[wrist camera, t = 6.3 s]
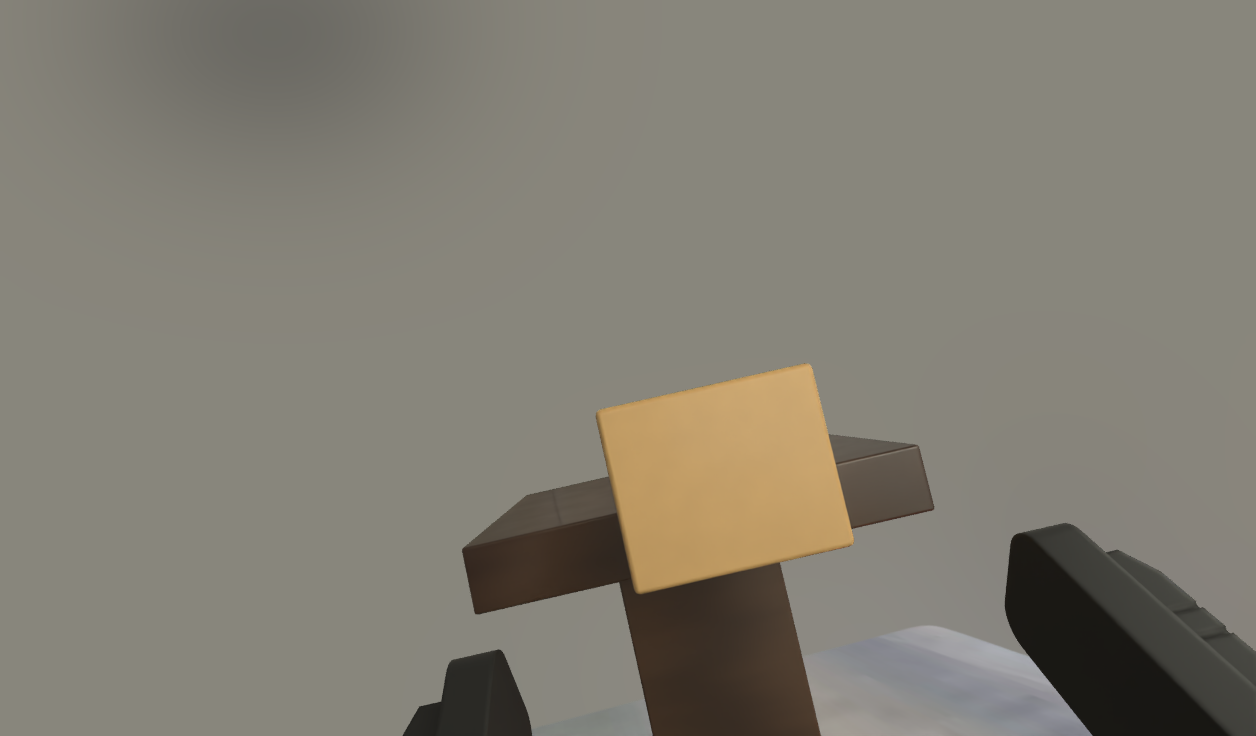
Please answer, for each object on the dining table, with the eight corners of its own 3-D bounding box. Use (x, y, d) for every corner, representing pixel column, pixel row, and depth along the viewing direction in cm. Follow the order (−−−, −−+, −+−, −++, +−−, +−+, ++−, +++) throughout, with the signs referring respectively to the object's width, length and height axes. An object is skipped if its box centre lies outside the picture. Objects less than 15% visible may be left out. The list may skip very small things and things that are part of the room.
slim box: (634, 597, 10) (594, 411, 10) (630, 466, 34) (618, 410, 34) (857, 546, 10) (812, 361, 10) (696, 451, 34) (684, 395, 34)
